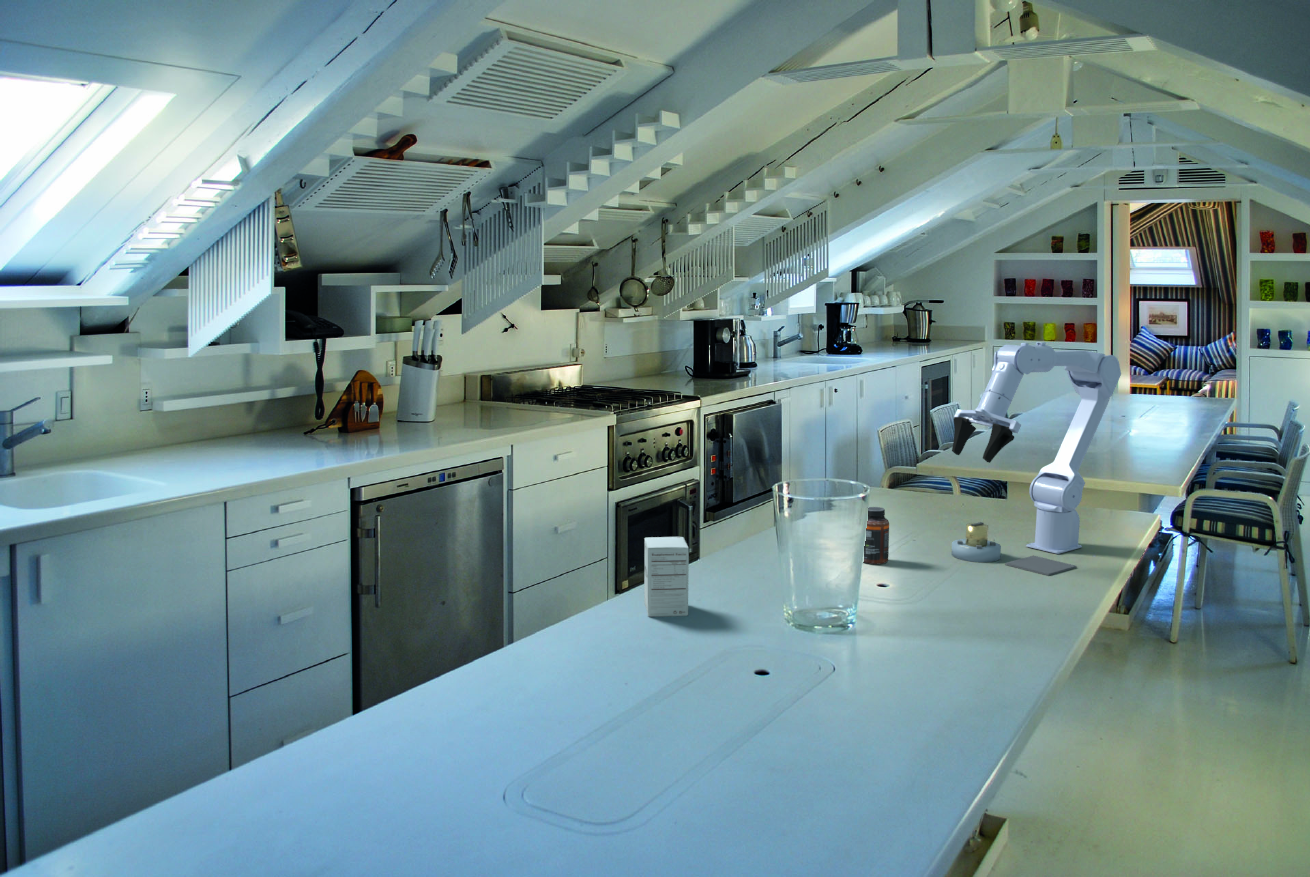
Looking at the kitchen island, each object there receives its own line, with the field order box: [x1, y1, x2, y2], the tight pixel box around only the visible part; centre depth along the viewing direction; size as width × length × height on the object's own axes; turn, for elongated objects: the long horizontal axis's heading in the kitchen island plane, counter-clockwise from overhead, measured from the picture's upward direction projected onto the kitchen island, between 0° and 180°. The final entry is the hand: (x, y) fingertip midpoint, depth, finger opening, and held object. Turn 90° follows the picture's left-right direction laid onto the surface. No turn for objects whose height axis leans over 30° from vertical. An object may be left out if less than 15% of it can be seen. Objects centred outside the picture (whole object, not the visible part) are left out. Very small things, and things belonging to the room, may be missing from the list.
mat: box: [1004, 555, 1077, 577], centre depth 218 cm, size 10×10×1 cm
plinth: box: [951, 538, 1002, 563], centre depth 226 cm, size 10×10×3 cm
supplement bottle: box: [863, 506, 890, 565], centre depth 221 cm, size 6×6×11 cm
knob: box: [965, 521, 989, 547], centre depth 226 cm, size 4×4×5 cm
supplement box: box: [643, 536, 690, 618], centre depth 188 cm, size 7×7×13 cm
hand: (970, 456), depth 216 cm, fingers open, 7 cm apart
